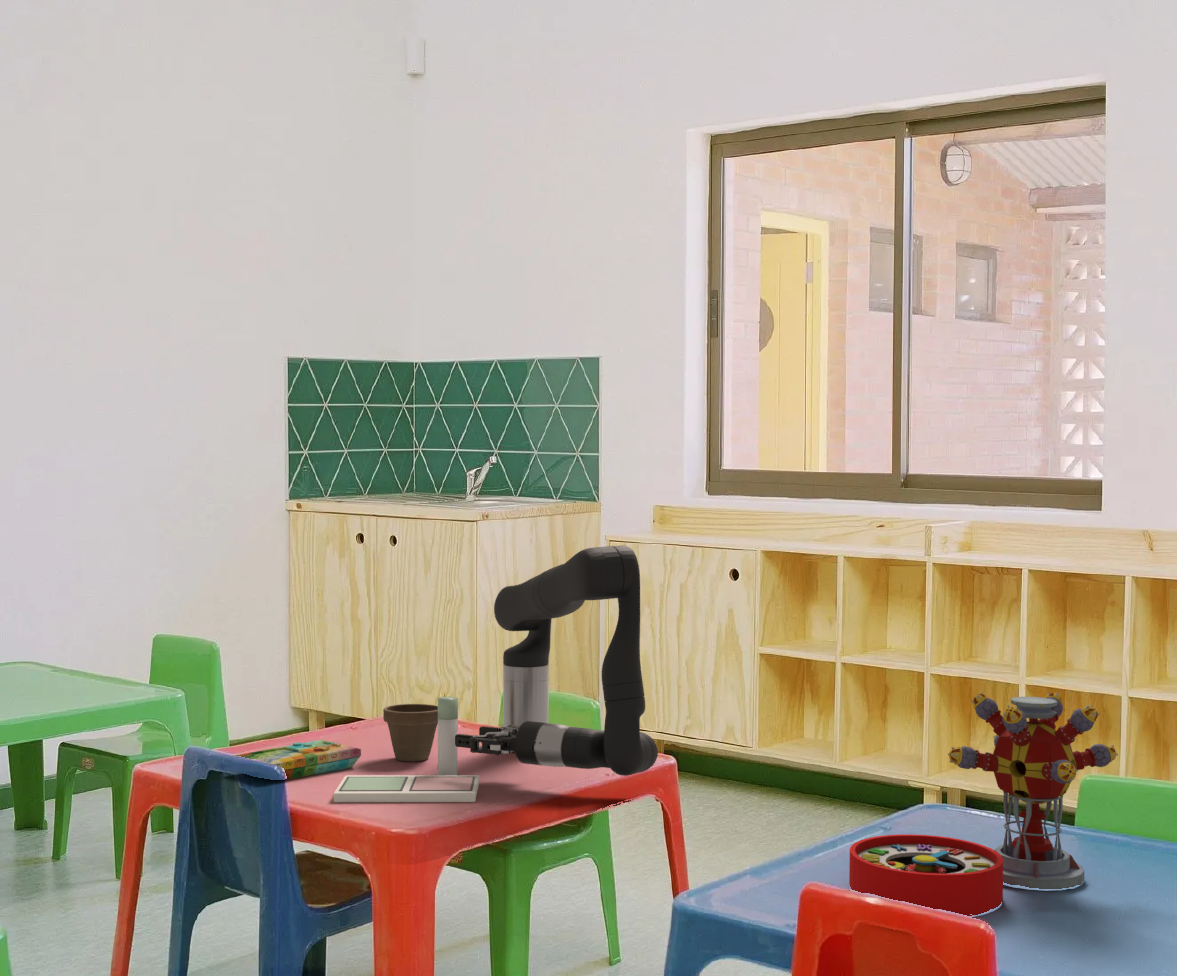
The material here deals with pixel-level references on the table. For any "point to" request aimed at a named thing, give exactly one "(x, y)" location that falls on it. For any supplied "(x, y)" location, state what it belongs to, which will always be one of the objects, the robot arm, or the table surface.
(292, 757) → the puzzle game
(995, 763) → the red knobbed tall piece
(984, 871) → the toy clock
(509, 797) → the table surface
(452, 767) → the green marker
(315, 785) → the table surface
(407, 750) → the flower pot
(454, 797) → the colouring board
